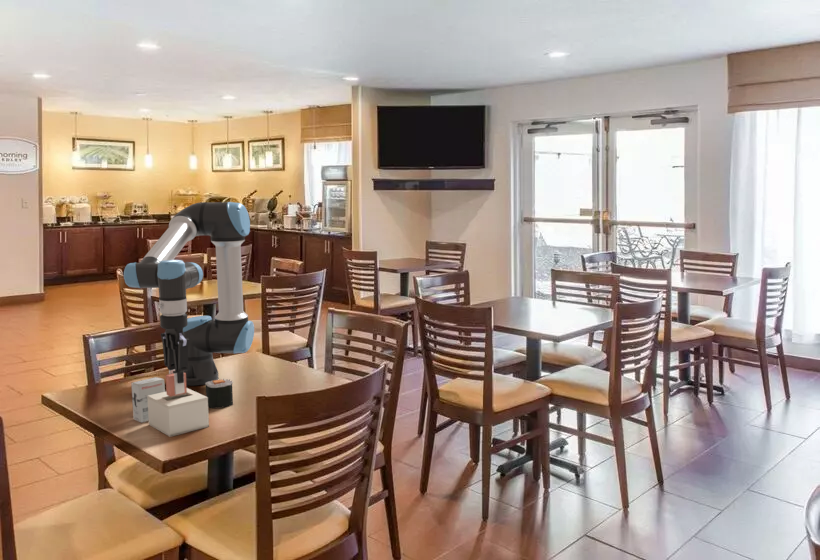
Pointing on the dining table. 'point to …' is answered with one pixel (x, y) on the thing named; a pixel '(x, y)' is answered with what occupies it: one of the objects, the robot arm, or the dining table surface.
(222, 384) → the sushi
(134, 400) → the ink box
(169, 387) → the pink flat block
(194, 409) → the tissue box
